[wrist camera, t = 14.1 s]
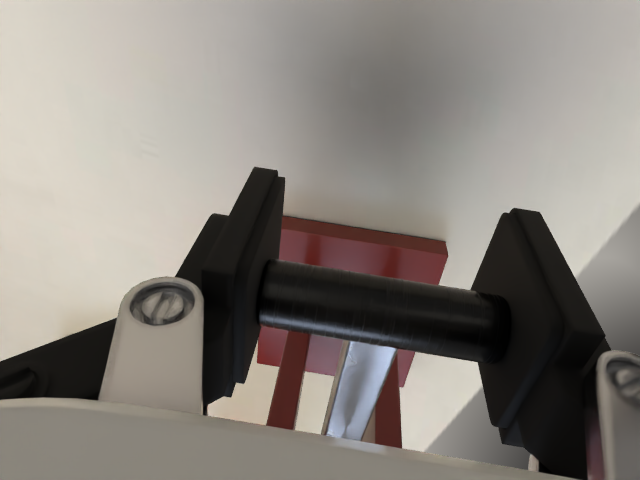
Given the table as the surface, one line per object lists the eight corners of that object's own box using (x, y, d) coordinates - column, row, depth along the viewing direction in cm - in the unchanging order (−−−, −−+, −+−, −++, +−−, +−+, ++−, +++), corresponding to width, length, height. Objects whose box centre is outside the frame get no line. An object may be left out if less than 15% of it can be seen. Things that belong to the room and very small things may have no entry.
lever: (274, 228, 10) (248, 317, 8) (502, 264, 10) (523, 362, 8) (266, 454, 19) (252, 518, 18) (384, 474, 19) (382, 541, 17)
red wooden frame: (270, 213, 23) (185, 428, 13) (445, 241, 23) (497, 481, 13) (260, 348, 29) (196, 573, 19) (402, 372, 29) (415, 612, 19)
